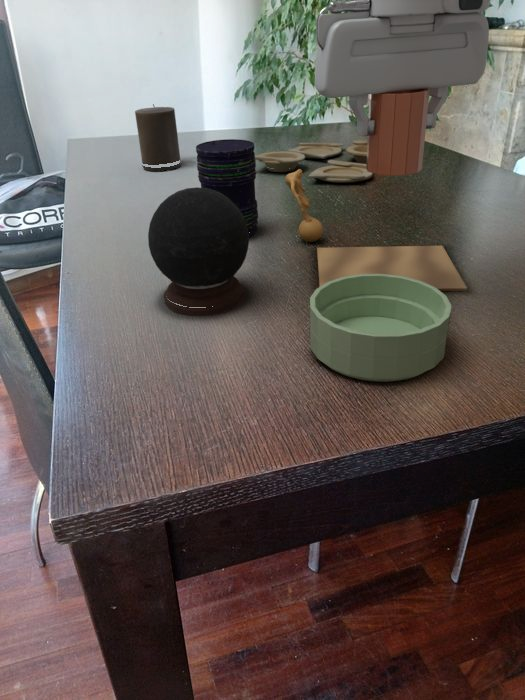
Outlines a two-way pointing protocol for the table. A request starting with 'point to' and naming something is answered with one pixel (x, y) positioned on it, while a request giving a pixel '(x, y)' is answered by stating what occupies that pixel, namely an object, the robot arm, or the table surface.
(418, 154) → the cup
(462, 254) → the table surface
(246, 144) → the storage jar
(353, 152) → the tableware set
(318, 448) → the table surface
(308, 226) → the figurine
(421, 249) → the placemat
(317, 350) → the bowl
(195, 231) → the black ball on stand
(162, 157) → the pillar candle
